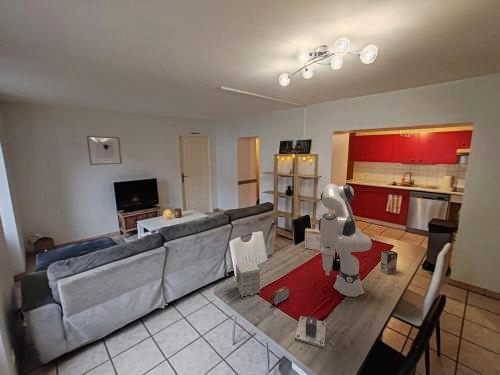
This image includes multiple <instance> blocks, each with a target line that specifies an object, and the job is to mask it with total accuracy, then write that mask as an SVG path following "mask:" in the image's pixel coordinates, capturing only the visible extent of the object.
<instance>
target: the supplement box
mask: <svg viewBox="0 0 500 375" xmlns="http://www.w3.org/2000/svg"><path fill="white" fill-rule="evenodd" d="M260 269H261V268H259V266H258V265H257V264H256V262H255V261H254V260H250V261H248V260H247V261H243V262H239V263H235V277H236V278H235V280H236V282H235V283H236V289H237V288H238V289H237V290H238V292H239V294H240V296H241V295H242V296H241V298H244V297H243V296H246V297H248V296H247V295H251V294H255V293H259V292H260V293H261V270H260ZM260 293H259V294H260ZM255 295H256V294H255ZM251 296H252V295H251Z"/></svg>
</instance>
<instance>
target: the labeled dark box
mask: <svg viewBox="0 0 500 375" xmlns="http://www.w3.org/2000/svg"><path fill="white" fill-rule="evenodd" d="M306 318H307V319H306V332H308V333H312V334H315V335H316V329H317V320H318V319H317V317H312V316H308V315H307V316H306Z"/></svg>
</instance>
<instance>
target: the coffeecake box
mask: <svg viewBox="0 0 500 375" xmlns="http://www.w3.org/2000/svg"><path fill="white" fill-rule="evenodd" d="M318 229H319V228H310V227H309V228H308V227H306V228H305V229H304V249H305V248H310V249H316V250H321V249H320V236H321V232H320V231H319V230H318Z"/></svg>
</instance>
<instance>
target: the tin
mask: <svg viewBox="0 0 500 375" xmlns="http://www.w3.org/2000/svg"><path fill="white" fill-rule="evenodd" d="M290 290H291V289H290V288H289V287H287V286H282V287H280V288H278V289H276V290H275V291H273V292H272V293H271V295H270V303H272V305H275V306H277V305H279V304H281V303H283V302H284V300H285V301H286V300H287V299H288V298H289V297H290V294H291V292H290ZM282 301H283V302H282ZM280 302H281V303H280ZM278 303H279V304H278Z"/></svg>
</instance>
